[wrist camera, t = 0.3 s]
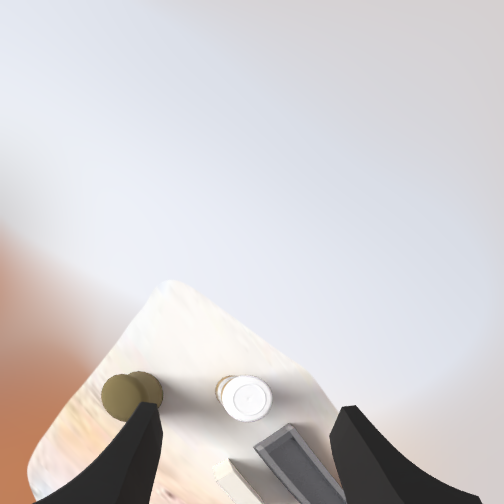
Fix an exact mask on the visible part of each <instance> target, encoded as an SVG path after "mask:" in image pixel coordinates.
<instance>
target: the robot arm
mask: <svg viewBox="0 0 504 504" xmlns="http://www.w3.org/2000/svg"><path fill="white" fill-rule="evenodd" d="M329 437H330V443H331V449H332V455H333V459H334V462H335V465H336V468H337V472H338V475H339V478H340V481H341V484H342V487H343V491H344V494H345V497H346V501H347V504H482V502H481V500H480V498H479V497H478V496H476V495H472V494H470V493H466V492H464V491H461V490H458V489H456V488H454V487H451V486H449V485H447V484H445V483H443V482H441V481H439V480H438V479H436V478H434V477H432V476H431V475H429V474H427V473H426V472H424V471H423V470H421V469H420V468H419V467H417V466H416V465H415V464H413V463H412V462H411V461H409V460H408V459H407V458H406V457H404V456H403V455H402V454H401V453H400V452H399V451H398V450H397V449H396V448H395V447H393V445H392V444H391V443H390V442H389V441H387V439H386V438H385V437H384V436H383V435H382V434H381V433H380V432H379V431H378V430H377V429H376V428H375V427H374V425H372V423H371V422H370V421H369V420H368V419H367V418H366V416H365V415H364V414H363V413H362V412H361V411H360V410H359V408H358V407H357V406H356V405H354V406H345V407H342V408H341V410H340V413H339V415H338V417H337V420H336V422H335V424H334V426H333V429H332V431H331V433H330V435H329ZM162 438H163V431H162V426H161V421H160V417H159V412H158V407H157V404H156V403H149V402H140V403H139V404H138V406H137V408H136V409H135V411H134V412H133V414H132V415H131V417H130V418H129V419H128V421H127V422H126V424H125V425H124V426H123V428H122V429H121V430H120V432H119V433H118V434H117V435H116V437H115V438H114V439H113V440H112V442H111V443H110V444H109V445H108V446H107V447H106V448H105V450H104V451H103V452H102V453H101V454H100V455H99V456H98V457H97V458H96V459H95V460H94V461H93V462H92V463H91V464H90V465H89V466H88V467H87V468H86V469H85V470H84V471H82V472H81V473H80V474H79V475H78V476H76V477H75V478H74V479H73V480H71V481H70V482H69V483H67V484H66V485H64V486H63V487H61V488H60V489H58V490H57V491H55V492H53V493H52V494H50V495H49V496H47V497H45V498H43V499H41V500H39V501H37V502H35V503H33V504H149V501H150V496H151V491H152V487H153V483H154V479H155V475H156V471H157V467H158V463H159V459H160V454H161V447H162Z"/></svg>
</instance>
